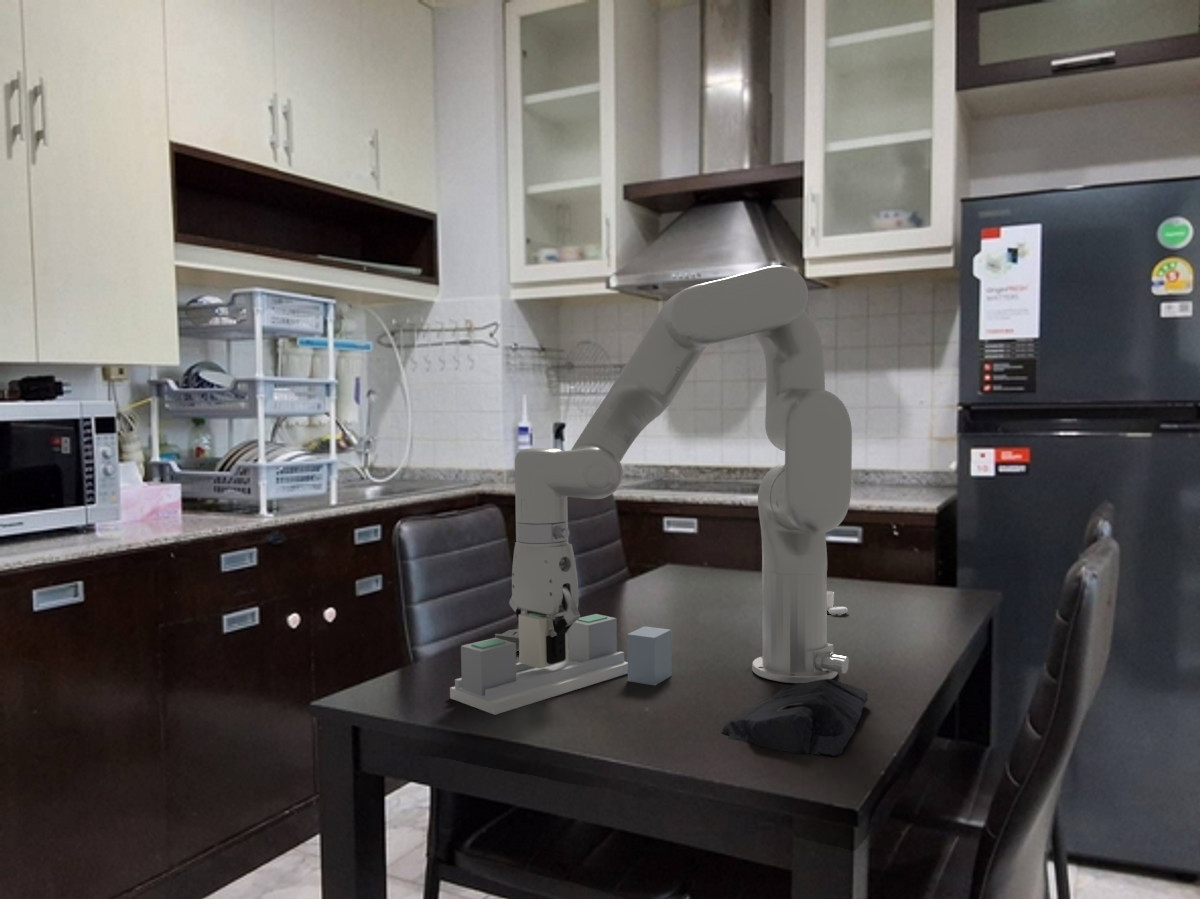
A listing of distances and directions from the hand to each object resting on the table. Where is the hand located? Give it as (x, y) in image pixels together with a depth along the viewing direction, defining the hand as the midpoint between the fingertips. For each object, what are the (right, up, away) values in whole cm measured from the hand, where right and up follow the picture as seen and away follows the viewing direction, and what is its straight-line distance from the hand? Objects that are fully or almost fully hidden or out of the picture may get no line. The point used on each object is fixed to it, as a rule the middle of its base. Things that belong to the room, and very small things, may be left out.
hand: (544, 657), depth 133 cm
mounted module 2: (+7, -2, +7) cm, 10 cm away
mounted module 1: (-7, -3, -7) cm, 10 cm away
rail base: (0, -4, 0) cm, 4 cm away
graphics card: (0, -4, +21) cm, 21 cm away
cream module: (0, -1, 0) cm, 1 cm away
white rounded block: (+51, -2, +43) cm, 67 cm away
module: (+16, -4, +3) cm, 16 cm away
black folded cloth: (+34, -5, -16) cm, 38 cm away
